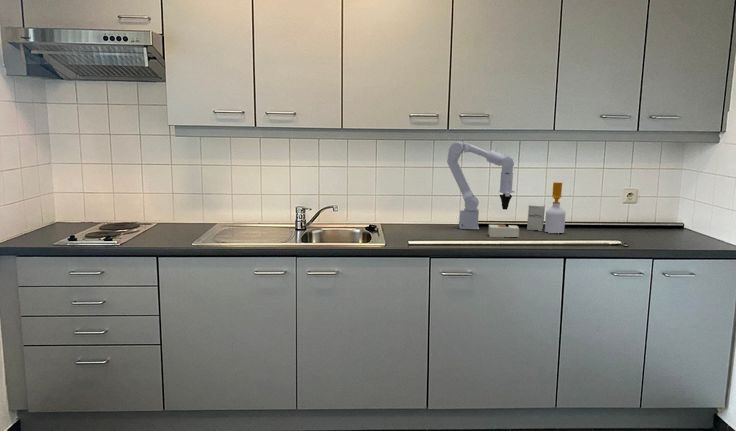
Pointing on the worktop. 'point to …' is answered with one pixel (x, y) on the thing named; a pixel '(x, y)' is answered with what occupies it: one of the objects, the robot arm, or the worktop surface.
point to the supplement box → (535, 217)
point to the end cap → (503, 231)
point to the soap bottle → (555, 213)
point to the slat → (501, 225)
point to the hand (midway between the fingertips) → (504, 209)
